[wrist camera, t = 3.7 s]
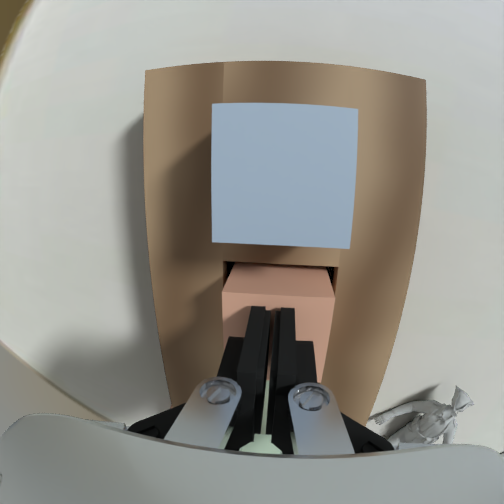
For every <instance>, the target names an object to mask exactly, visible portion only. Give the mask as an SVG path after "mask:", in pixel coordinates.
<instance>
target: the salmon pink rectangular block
mask: <svg viewBox="0 0 504 504" xmlns="http://www.w3.org/2000/svg"><path fill="white" fill-rule="evenodd" d="M334 304H335V295H334V292H333V288H332V285H331V282H330V278H329V275H328V272H327V269H326V266H311V265H291V264H271V263H252V262H235V264H234V266H233V268H232V271H231V273H230V275H229V277H228V279H227V282H226V284H225V286H224V288H223V290H222V315H223V344H224V350H225V347H226V344H227V340H228V337H229V336H233V337H245V333H246V329H247V324H248V320H249V315H250V311H251V306H266V310H271V317H270V336H269V354H268V369H267V380H270V368H271V356H272V344H273V332H274V319H275V311H281V307H284V308H295V330H296V340H298V341H313V344H314V353H315V362H316V372H317V382H318V383H321V380H322V375H323V369H324V364H325V359H326V353H327V348H328V342H329V336H330V330H331V324H332V317H333V311H334Z"/></svg>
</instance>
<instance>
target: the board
mask: <svg viewBox="0 0 504 504" xmlns="http://www.w3.org/2000/svg"><path fill="white" fill-rule="evenodd" d="M217 103H289V104H309V105H323V106H335V107H345V108H354V109H358V143H357V166H356V183H355V198H354V210H353V221H352V231H351V241H350V249H340V248H321V247H302V246H282V245H261V244H240V243H219V242H212V195H211V146H212V104H217ZM426 127H427V106H426V80H424V79H420V78H415V77H411V76H406V75H401V74H396V73H391V72H385V71H379V70H373V69H367V68H359V67H352V66H343V65H334V64H323V63H310V62H290V61H235V62H216V63H202V64H191V65H182V66H173V67H166V68H159V69H152V70H146V71H145V89H144V122H143V157H144V192H145V212H146V227H147V240H148V252H149V263H150V272H151V281H152V290H153V298H154V306H155V313H156V320H157V327H158V334H159V340H160V346H161V352H162V358H163V363H164V369H165V374H166V379H167V384H168V389H169V394H170V399H171V404H172V408H174V407H176V406H179V405H181V404H183V403H186V402H187V401H188V399H189V398H190V396H191V394H192V393H193V391H194V389H195V388H196V386H197V385H198V384H199V383H200V382H202V381H203V380H205V379H208V378H211V377H217V373H218V370H219V367H220V363H221V360H222V357H223V353H224V344H223V315H222V290H223V288H224V286H225V284H226V282H227V261H234V262H252V263H271V264H291V265H311V266H332V267H334V274H333V283H332V288H333V292H334V295H335V304H334V311H333V317H332V324H331V330H330V336H329V342H328V348H327V353H326V359H325V364H324V369H323V375H322V380H321V383H318V384H322V385H324V386H326V387H328V388H329V389H330V390H331V391H332V392H333V394H334V396H335V399H336V401H337V404H338V407H339V410H340V412H342V413H343V414H345V415H346V416H348V417H350V418H351V419H353V420H355V421H356V422H358V423H359V424H361V425H363V426H364V427H365V426H366V423H367V421H368V418H369V416H370V413H371V411H372V408H373V405H374V403H375V400H376V397H377V394H378V392H379V389H380V386H381V383H382V380H383V377H384V374H385V371H386V368H387V365H388V362H389V358H390V355H391V352H392V348H393V345H394V342H395V338H396V334H397V331H398V327H399V323H400V319H401V315H402V311H403V307H404V303H405V299H406V294H407V290H408V285H409V280H410V275H411V270H412V265H413V260H414V254H415V248H416V242H417V235H418V228H419V221H420V213H421V205H422V196H423V185H424V173H425V157H426Z"/></svg>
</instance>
